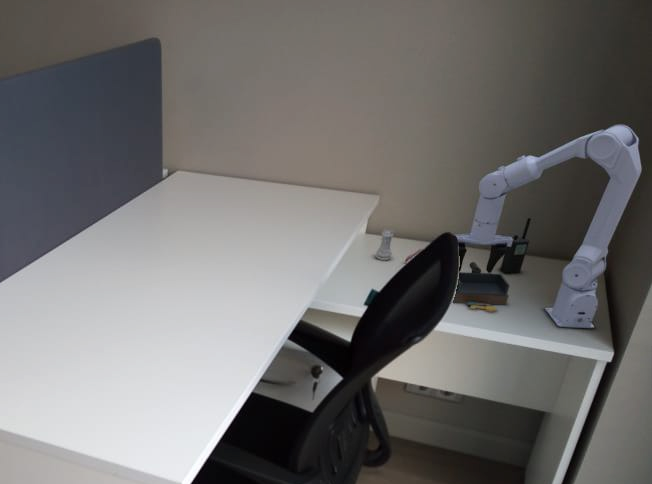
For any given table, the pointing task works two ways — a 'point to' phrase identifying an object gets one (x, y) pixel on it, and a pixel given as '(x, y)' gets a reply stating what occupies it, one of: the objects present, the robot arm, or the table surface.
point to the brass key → (487, 308)
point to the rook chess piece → (385, 246)
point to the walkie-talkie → (516, 253)
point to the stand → (480, 298)
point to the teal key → (478, 304)
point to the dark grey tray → (481, 282)
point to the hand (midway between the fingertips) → (473, 270)
